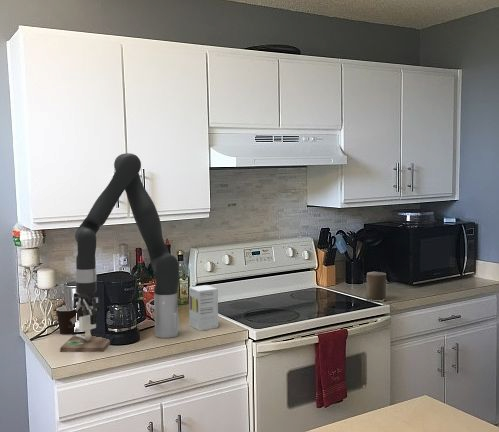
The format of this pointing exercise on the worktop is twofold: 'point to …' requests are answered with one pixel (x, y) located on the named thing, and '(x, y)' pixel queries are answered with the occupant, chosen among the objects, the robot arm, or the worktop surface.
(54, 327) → the worktop surface
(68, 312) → the coffee mug
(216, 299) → the supplement box
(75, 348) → the dial plate
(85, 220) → the robot arm
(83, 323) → the tuning peg
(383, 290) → the pillar candle
